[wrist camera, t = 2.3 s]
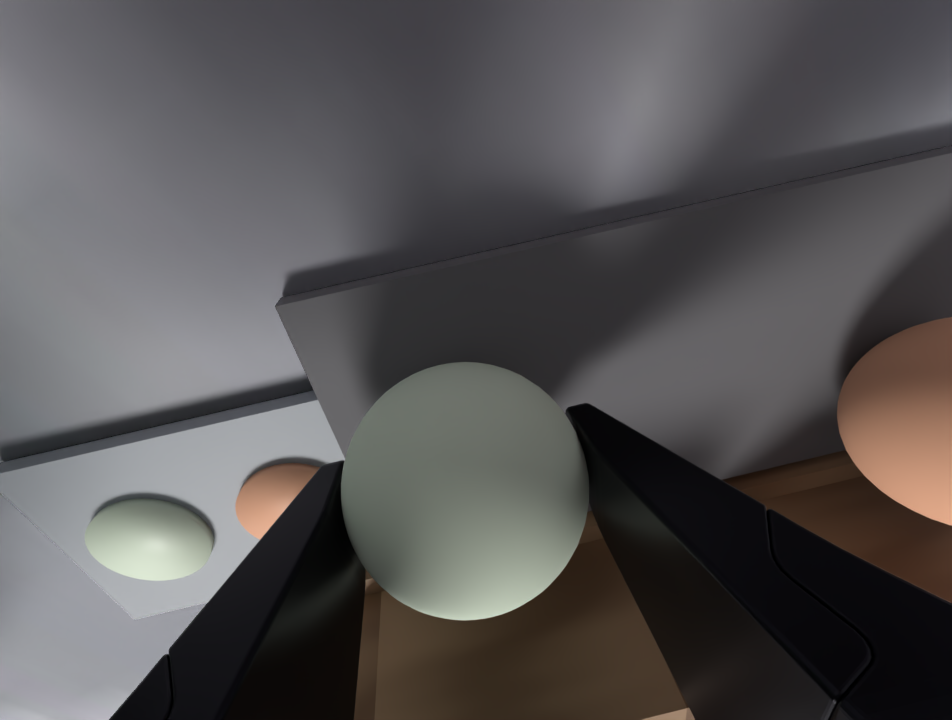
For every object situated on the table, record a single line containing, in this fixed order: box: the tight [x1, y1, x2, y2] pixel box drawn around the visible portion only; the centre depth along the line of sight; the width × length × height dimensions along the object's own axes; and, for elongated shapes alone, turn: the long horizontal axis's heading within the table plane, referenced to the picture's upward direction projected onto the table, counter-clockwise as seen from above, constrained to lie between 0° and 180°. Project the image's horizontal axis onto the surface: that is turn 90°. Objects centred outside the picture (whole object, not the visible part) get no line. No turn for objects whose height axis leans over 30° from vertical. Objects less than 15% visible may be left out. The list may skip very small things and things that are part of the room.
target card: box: [0, 390, 345, 620], centre depth 10 cm, size 7×5×1 cm
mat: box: [275, 146, 952, 512], centre depth 10 cm, size 15×7×1 cm, turn 101°
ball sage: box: [341, 362, 589, 620], centre depth 7 cm, size 4×4×4 cm
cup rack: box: [354, 450, 952, 720], centre depth 12 cm, size 19×8×4 cm, turn 101°
